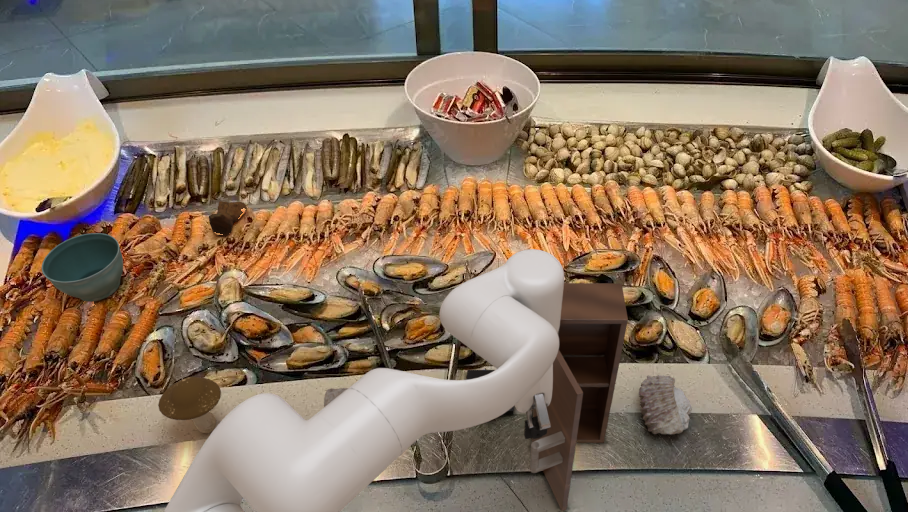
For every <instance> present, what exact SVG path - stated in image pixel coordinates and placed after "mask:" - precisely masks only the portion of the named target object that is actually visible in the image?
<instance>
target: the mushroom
mask: <svg viewBox="0 0 908 512" xmlns="http://www.w3.org/2000/svg"><path fill="white" fill-rule="evenodd" d="M221 396H222V390H221V387H220V385H219V384H217V382H215V381H213V380H212V379H211V378H206V377H197V376H187V377H184V378H182V379H181V380H179V381H178V382H175V383H173V384H172V385H171V386H169V387H168V388H167V389H166V390H165V391H164V392H163V393H162V394H161V396H160V398H159V400H158V404H157V405H158V406H157V407H158V410H159V412H160V414H162V415H163V417H166V418H168V419H170V420H175V421H189V420H192V422H193V424H194V426H195V428H196V429H197V431H199V432H200V433H202V434H211V433H212V432H213V430H214V429H215V428H216V427H217V418H216V416H215V415H214V414H213V413H211V411H212V410H213V409H215V407H216V406H217V405H218V403H219V402H220V400H221V398H222V397H221Z"/></svg>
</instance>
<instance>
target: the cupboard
mask: <svg viewBox="0 0 908 512" xmlns="http://www.w3.org/2000/svg"><path fill="white" fill-rule="evenodd" d="M628 321H629V318H628V312H627V308H626V301H625V294H624V288H623V283H621V282H620V283H617V282H615V283H611V282H610V283H608V282H607V283H606V282H605V283H601V282H600V283H598V282H593V283H592V282H589V283H588V282H572V283H571V282H564V288H563V298H562V308H561V318H560V327H559V351H560V353H561V354H562V356H563V358H564V360H565V361H566V363H567V365H568V367H569V368H570V370H571V372H572V374H573V375H574V377H575V379H576V381H577V383H578V384H579V386H580V388H581V390H582V391H583V398H582V405H581V412H580V419H579V426H578V433H577V440H576V444H579V443H581V444H582V443H584V444H585V443H586V444H591V443H593V444H603V443H605V439H606V434H607V428H608V424H609V418H610V414H611V409H612V403H613V398H614V393H615V388H616V382H617V378H618V371H619V368H620V362H621V357H622V351H623V347H624V341H625V337H626V333H627V332H626V331H627V326H628ZM533 402H534V399H533ZM533 413H534V409H532V414H533Z"/></svg>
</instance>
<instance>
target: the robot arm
mask: <svg viewBox="0 0 908 512" xmlns="http://www.w3.org/2000/svg"><path fill="white" fill-rule="evenodd" d="M564 283H565V271H564V268H563V265H562V264H561V262H560V261H559V260H558V259H557V257H556V256H554V255H553V254H551V253H550V252H548V251H545V250H542V249H535V248H530V249H529V248H528V249H523V250H519V251H517V252H515V253H514V254H512V255H511V256H510V257H509V258H508V259H507V260H506V261H505V263H504V264H503V265H500V266H499V267H496V268H494V269H492V270H489V271H487V272H485V273H482V274H480V275H478V276H475V277H473V278H470V279H469V280H466V281H464V282H462V283H461V284H459V285H458V286H456V287H455V288H453V289H452V290H451V291H449V293H448V294H447V295H446V296H445V298H444V299H443V301H442V303H441V305H440V307H439V321H440V324H441V325H442V327H443V328H444V330H446V331H447V333H449V335H451V336H452V337H454V338H455V339H457V340H458V341H459V342H460V343H462V344H463V345H464V346H466V347H467V348H468V349H470V350H471V351H473V352H474V353H475V354H476V355H477V356H479V357H481V358H482V359H483V360H484V361H486V362H487V363H489V364H490V365H491V366H493V367H494V368H495V369H494V370H495V371H493V372H491V373H489V374H487V375H484V376H482V377H479V378H474V379H469V380H467V379H459V380H458V379H443V378H437V377H432V376H427V375H424V374H419V373H413V372H409V371H403V370H400V369H395V368H388V367H376V368H374V369H370V370H369V371H368V372H366V373H365V374H363V375H362V376H361V377H360V378H359V379H358V380H356V381H355V382H353V384H351V385H350V386H349V387H347V388H348V389H346V390H345V391H344V392H343V393H341V394H340V395H339V396H338V397H336V398H335V399H334V400H333V401H331V402H330V403H329V404H328V405H326V406H325V407H324V406H323V408H321V409H320V410H319V411H318V412H316V413H315V414H314V415H312V416H311V417H310V418H308V419H305V418H304V417H303V416H302V415H301V414H300V413H299V412H298V411H297V410H296V409H295V408H293V406H292V405H291V404H289V403H288V402H287V401H286V400H285V399H284V398H283V397H282V396H280V395H278V394H275V393H272V392H261V393H257V394H255V395H252V396H250V397H247V398H246V399H245V400H244V401H242V402H240V403H239V404H237V405H236V406H235V407H234V408H233V409H231V410H230V412H228V413H227V414H226V415H225V416H224V417H223V418H222V420H220V422H218V424H216V427H215V429H214V430H213V431H212V432H210V435H209V436H208V437H207V439H206V440H205V442H204V443H203V445H202V446H201V447H200V449H199V450H198V452H197V454H196V455H195V457H194V458H193V460H192V462H191V464H189V466H188V469H187V470H186V472H185V474H184V475H183V477H182V479H181V481H180V482H179V484H178V486H177V487H176V489H175V491H174V492H173V494H172V496H171V498H170V500H169V502H168V503H167V505H166V507H165V509H164V510H163V512H245V510H244V509H243V507H242V506H241V504H242V501H243V499H244V501H245V502H246V503H247V504H248V505H249V506H250V508H252V509H253V510H254V512H341V511H342V510H343V509H344V508H346V507H347V505H348V504H350V503H351V502H352V501H353V500H354V499H355V498H356V497H357V496H358V495H359V494H360V493H362V492H363V491H364V490H365V489H366V488H367V487H368V486H369V485H370V484H371V483H373V481H374V480H376V479H377V477H379V476H380V475H381V474H382V473H383V472H384V471H385V470H387V468H389V467H390V466H391V465H392V464H393V463H394V462H395V461H396V460H397V459H398V458H399V457H400V456H402V455H403V454H404V453H405V452H406V451H407V450H408V449H409V448H410V447H411V446H412V445H413V444H414V443H415V442H417V441H418V440H419V439H421V437H423V436H426V435H428V434H429V435H430V434H435V433H448V432H454V431H460V430H465V429H469V428H473V427H476V426H479V425H482V424H485V423H488V422H490V421H492V420H494V419H497V418H499V417H500V416H503V415H502V414H504V413H505V412H507V411H508V410H509V409H511V408H512V407H513V406H514V409H515V410H516V411H517V412H519V413H520V414H521V413H525V415H526V420H524V430H523V431H524V432H523V434H524V438H525V440H530V439H532V438H533V439H537V438H541V437H542V436H543V435H546V434H547V429H548V428H550V427H551V426H550V421H549V416H548V412H547V407H548V406H549V404H550V402H551V399H552V390H553V362H554V360H555V358H556V356H557V354H558V350H559V327H560V318H561V308H562V298H563V288H564ZM533 399H534V402H533ZM533 409H536V412H537V416H535V417H533V412H532V411H533Z"/></svg>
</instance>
